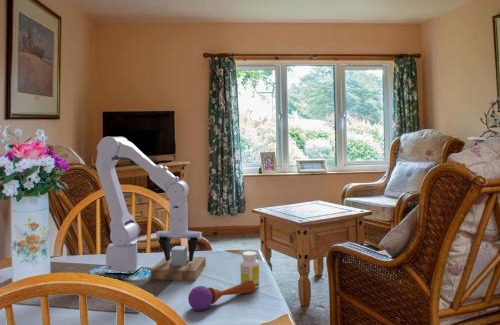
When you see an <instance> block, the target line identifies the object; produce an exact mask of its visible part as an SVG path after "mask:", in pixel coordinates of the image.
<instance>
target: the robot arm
mask: <svg viewBox="0 0 500 325" xmlns="http://www.w3.org/2000/svg"><path fill="white" fill-rule="evenodd" d="M96 150H97V153H96V161H95V169H96V172H97V174H98V177H99V181H100V185H101V187H102V191H103V194H104V198H105V200H106V203H107V206H108V210H109V214H110V216H111V219H110V222H109V228H110V234H109V237H110V241H111V243H109V244H108V245H107V247H106V250H105V265H106V267H105V269H106V270H115V271H120V272H128V271H133V270H138V269H139V270H140V269H142V267H143V265H142V264H139V263H138V257H139V256H138V240H137V239H138V236H139V235H140V231H141V228H140V225H139V224H138V223H137V222H136V221H135V218H134V216H133V215H132V214H131V213H130V212H129V210H128V207H127V204H126V201H125V196H124V193H123V191H122V188H121V187H122V186H121V184H120V181H119V179H118V178H119V177H118V174H117V172H116V171H117V170H116V168H115V167H116V166H117V163H118V162H119V161H120V159H121V158H123V159H124V158H127V159H130V160H131V161H132V162H134V163H135V164H136V165H138V166H139V167H141V168H142V169H143V170H144V171H146V172H147V173H148V176H149V180H151V181H152V182H153V183H154V184H156V186H158V187H159V188H160V189H161V190H163V191H164V192H165V193H166V196H167V198H168V199H169V200H168V201H169V205H168V206H169V207H168V208H169V210H168V211H169V230H159V231H158V230H157V231H156V232H155V238H156V239H159V240H158V244H159V245H160V247H161V249H162V252H163V254H164V257H165V258H166V261H168V260H169V259H170V256H171V248H170V247H171V239H188V240H187V244H188V257H189V261H192V260H193V257H194V254H195V250H196V247H197V244H198V243H199V240H201V239H202V238H203V234H202V231H195V230H194V231H193V230H189V228H188V227H189V222H188V219H189V218H188V216H189V215H188V213H189V212H188V210H189V209H188V194H189V193H190V192H189V191H190V187H189V184H188V183H187V182H186V181H185V180H183V179H180V177H179V176H175V174H173V173H172V172H171V171H170V170H169V167H167V166H166V165H165V166H163V165H162V164H159V165H157V164H156V163H155V162H153V161H152V159H150V158H149V157H148V156H147V155H146V154H144V153H143V151H141V150H140V149H139V148H138V147H137V146H136V145H135V144H134V143H133V142H131V141H129V140H128V139H127V138H126V137H124V136H122V135H121V136H119V135H118V136H105V137H103V138H101V140H100V141H99V142H98V144H97V146H96ZM110 267H111V268H110ZM139 270H138V271H139Z"/></svg>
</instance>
